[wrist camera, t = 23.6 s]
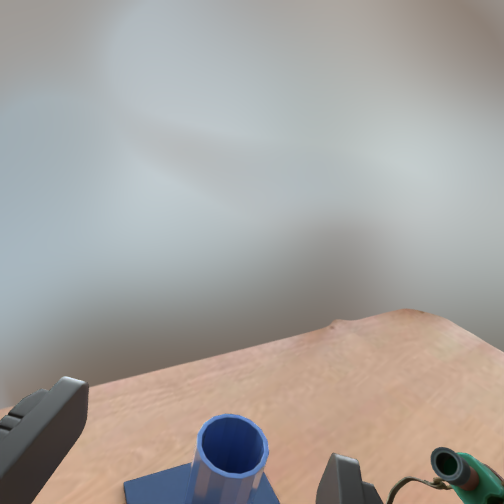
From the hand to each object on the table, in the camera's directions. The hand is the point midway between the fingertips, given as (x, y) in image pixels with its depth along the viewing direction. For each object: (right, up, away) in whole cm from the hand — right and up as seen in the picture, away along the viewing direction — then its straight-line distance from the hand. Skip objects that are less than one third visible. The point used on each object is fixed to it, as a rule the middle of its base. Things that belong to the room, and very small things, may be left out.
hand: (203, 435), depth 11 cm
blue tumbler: (-2, -19, +22) cm, 29 cm away
